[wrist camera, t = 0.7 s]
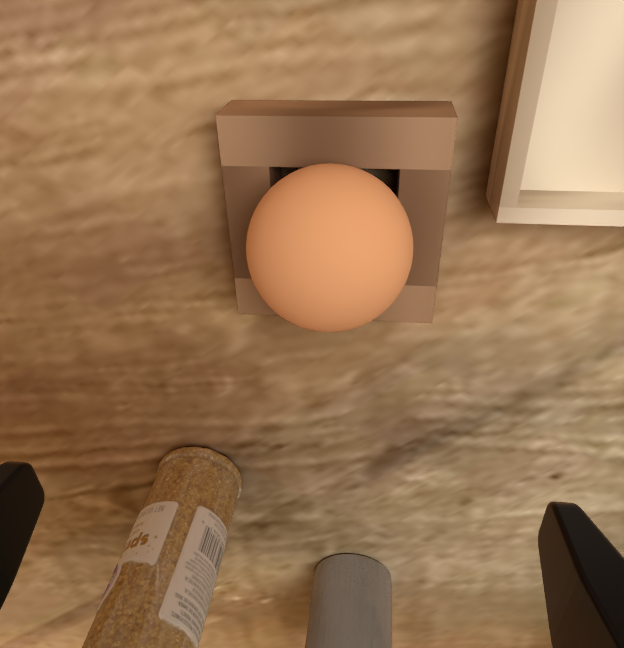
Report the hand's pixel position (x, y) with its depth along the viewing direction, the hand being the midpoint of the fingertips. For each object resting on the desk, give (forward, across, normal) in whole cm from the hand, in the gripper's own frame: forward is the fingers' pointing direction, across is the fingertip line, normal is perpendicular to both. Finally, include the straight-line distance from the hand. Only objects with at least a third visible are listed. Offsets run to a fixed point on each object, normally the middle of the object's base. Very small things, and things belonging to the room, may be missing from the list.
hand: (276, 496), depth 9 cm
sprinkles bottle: (+12, +7, +15) cm, 21 cm away
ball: (+11, 0, 0) cm, 11 cm away
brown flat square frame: (+12, 0, 0) cm, 12 cm away
